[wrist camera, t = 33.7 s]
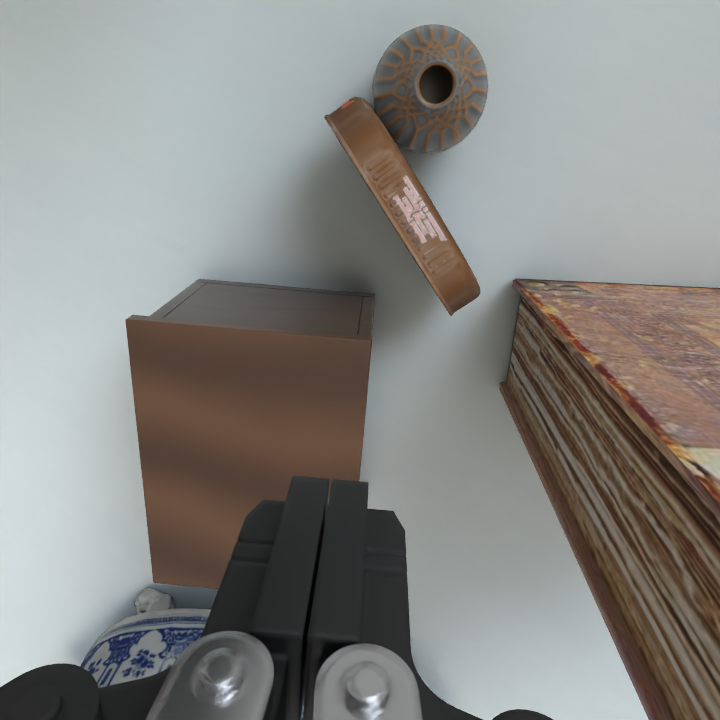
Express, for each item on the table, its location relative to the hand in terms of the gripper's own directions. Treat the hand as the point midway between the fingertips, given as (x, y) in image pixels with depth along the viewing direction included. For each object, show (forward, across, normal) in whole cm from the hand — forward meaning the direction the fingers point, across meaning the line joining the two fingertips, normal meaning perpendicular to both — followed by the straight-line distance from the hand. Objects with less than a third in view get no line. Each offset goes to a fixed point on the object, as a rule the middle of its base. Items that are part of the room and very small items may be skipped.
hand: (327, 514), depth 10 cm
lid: (+20, +6, +13) cm, 24 cm away
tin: (+31, -2, -3) cm, 31 cm away
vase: (+31, -3, -10) cm, 33 cm away
